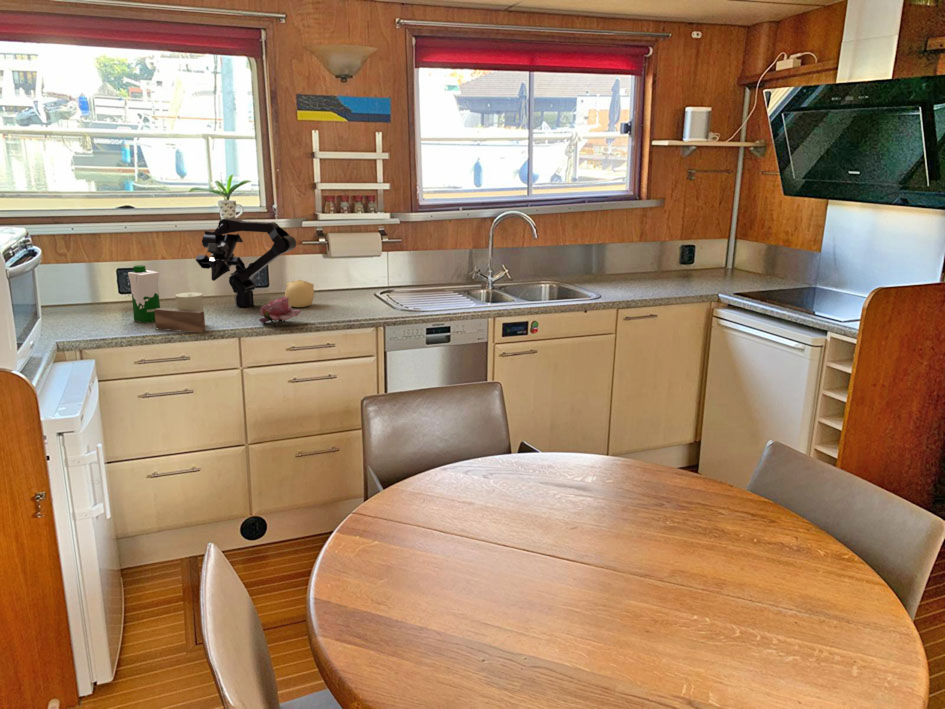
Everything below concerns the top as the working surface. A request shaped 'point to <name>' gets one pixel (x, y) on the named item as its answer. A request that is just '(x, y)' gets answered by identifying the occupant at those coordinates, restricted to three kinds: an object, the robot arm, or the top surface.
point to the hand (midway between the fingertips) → (212, 280)
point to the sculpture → (299, 293)
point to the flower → (277, 311)
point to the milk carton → (144, 293)
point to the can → (189, 301)
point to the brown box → (180, 320)
